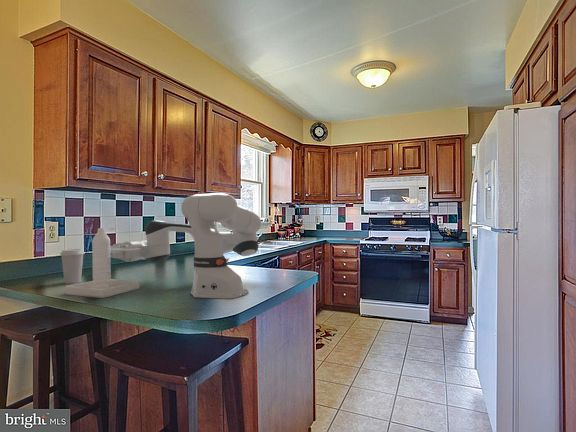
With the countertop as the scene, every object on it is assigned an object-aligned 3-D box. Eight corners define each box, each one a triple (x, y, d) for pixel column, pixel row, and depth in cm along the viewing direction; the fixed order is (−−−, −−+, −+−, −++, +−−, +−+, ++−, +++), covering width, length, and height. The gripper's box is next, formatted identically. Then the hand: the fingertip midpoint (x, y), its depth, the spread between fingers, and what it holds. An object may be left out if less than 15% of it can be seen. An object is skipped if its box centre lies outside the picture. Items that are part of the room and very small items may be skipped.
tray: (139, 288, 145) (139, 281, 145) (102, 298, 129) (101, 290, 129) (104, 285, 153) (104, 278, 153) (64, 294, 136) (64, 286, 136)
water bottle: (97, 292, 136) (96, 228, 136) (89, 290, 140) (88, 228, 140) (119, 288, 143) (118, 227, 143) (111, 286, 147) (110, 227, 146)
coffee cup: (69, 285, 154) (68, 251, 154) (55, 283, 158) (55, 250, 158) (89, 281, 163) (89, 249, 163) (76, 279, 167) (75, 248, 167)
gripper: (148, 259, 150) (122, 263, 137) (113, 257, 158) (85, 261, 145) (148, 244, 150) (122, 247, 137) (113, 243, 158) (85, 246, 145)
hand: (103, 254), depth 141 cm, fingers open, 8 cm apart
